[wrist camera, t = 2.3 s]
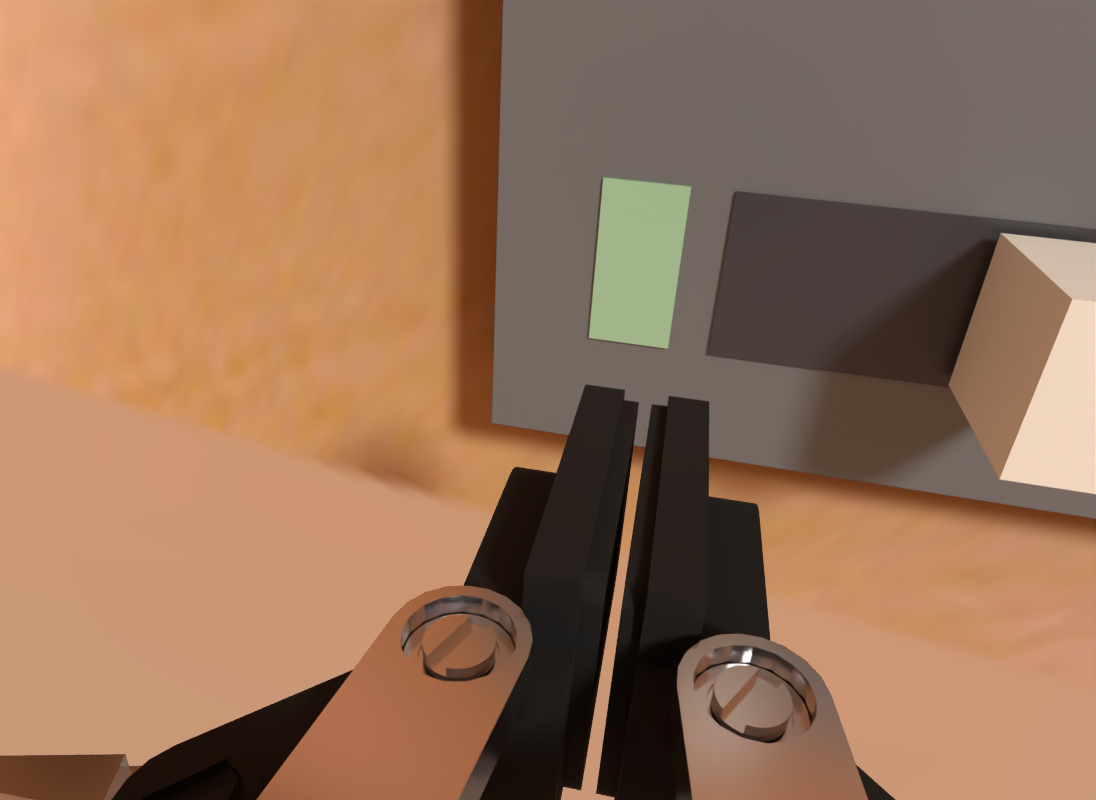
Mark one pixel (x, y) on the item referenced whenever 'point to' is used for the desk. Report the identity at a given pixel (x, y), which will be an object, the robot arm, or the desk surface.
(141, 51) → the desk surface
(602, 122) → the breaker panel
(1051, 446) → the block
